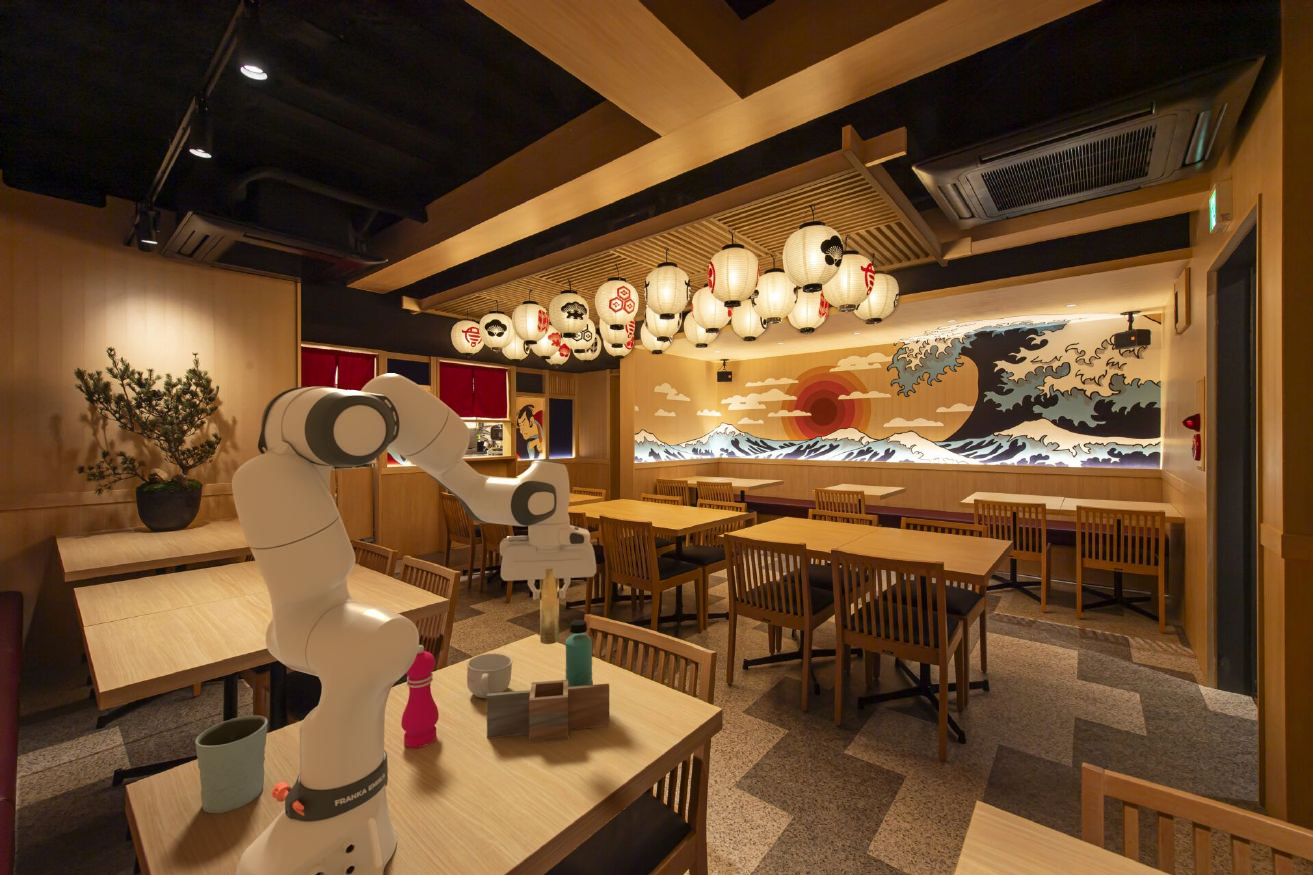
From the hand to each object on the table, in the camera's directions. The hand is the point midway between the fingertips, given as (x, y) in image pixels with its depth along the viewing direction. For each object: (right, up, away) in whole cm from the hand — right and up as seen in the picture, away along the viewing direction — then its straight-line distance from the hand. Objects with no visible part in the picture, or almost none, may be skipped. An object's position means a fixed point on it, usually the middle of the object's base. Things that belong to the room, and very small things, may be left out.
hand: (549, 598), depth 114 cm
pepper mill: (-27, -29, -3) cm, 40 cm away
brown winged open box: (0, -29, 0) cm, 29 cm away
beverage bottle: (+5, -29, +11) cm, 31 cm away
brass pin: (0, -9, 0) cm, 9 cm away
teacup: (-19, -29, +16) cm, 38 cm away
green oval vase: (-53, -30, -20) cm, 63 cm away
